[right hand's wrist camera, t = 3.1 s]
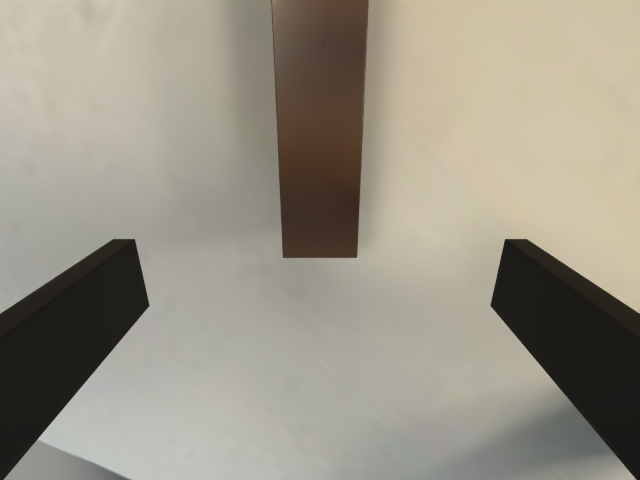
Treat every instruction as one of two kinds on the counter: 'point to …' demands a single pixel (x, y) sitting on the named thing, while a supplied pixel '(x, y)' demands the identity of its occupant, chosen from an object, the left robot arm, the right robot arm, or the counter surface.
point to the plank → (320, 123)
